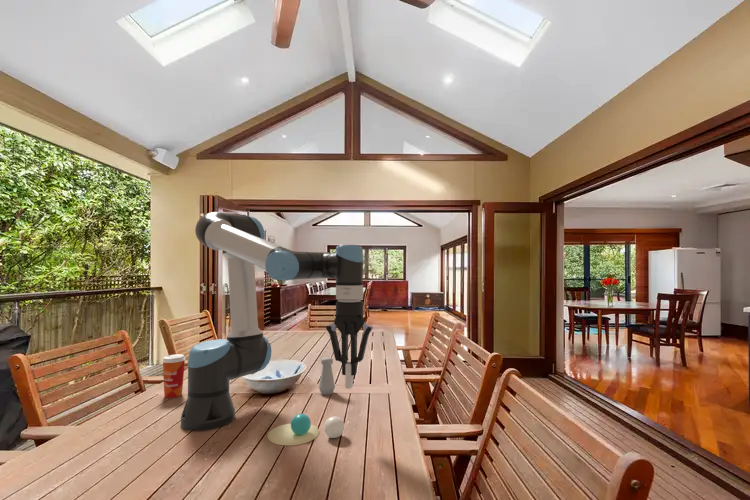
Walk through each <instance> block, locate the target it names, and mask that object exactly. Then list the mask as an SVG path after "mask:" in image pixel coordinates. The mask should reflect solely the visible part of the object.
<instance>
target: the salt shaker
mask: <svg viewBox="0 0 750 500" xmlns="http://www.w3.org/2000/svg"><path fill="white" fill-rule="evenodd" d="M320 363H321V365H322V366H321V375H320V379H319V384H318V385H319V386H318V388H319V392H320V394H321V395H322V396H330V395H332V394H333V393H334V391H335V388H336V385H335V380H334V374H333V367H332V365H333V364H334V361H333V357H330V356H324V357H322V358H321V361H320Z"/></svg>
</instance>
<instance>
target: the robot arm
mask: <svg viewBox="0 0 750 500" xmlns="http://www.w3.org/2000/svg"><path fill="white" fill-rule="evenodd" d="M194 229H195V230H194V232H195V236H196V238H197V240H198V241H199V243H200V244H202V245H203V246H205V247H207V248H209V249H211V250H213V251H220V250H221V251H222V256H224V257H225V258H226V259H227V271H228V273H227V274H228V289H229V308H230V309H229V310H230V332H229V333H228V334H227V335H226V339H225V338H224V339H223V338H218V339H217V338H216V339H213V340H210V339H209V340H206V341H202V342H199V343H197V344H195V345H194V346H192V347H191V348H190V350H189V352H188V360H187V367H188V368H187V399H186V402H185V403H184V404H185V405H184V406H183V410H182V413H181V416H180V427H181V428H182V429H184V430H187V431H193V432H194V431H195V432H199V431H210V430H215V429H218V428H221V427H224V426H226V425H228V424H230V423H232V422H233V421H234V420H235V418H236V409H235V406H234V403H233V400H232V396H231V393H230V381H231V380H235V379H237V378H241V377H245V376H249V375H254V374H256V373H258V372H260V371H262V370H265V369H266V367H267V366H268V364H269V363H270V361H271V358H272V344H271V343H270V342H269V339H268V337H266V336H264V331H263V330H261V329H260V327H259V322H258V321H259V320H258V302H257V285H256V268H255V266H257V267H259V268H261V269H263V270H265V271H266V274H268V277H270V278H271V279H272V280H276V281H283V282H287V281H294V280H295V281H296V280H309V279H310V280H312V279H313V280H314V279H333V280H335V300H337V301H336V302H335V317H334V320H333V322H332V323H330V324H328V325H327V326H326V328H325V329H326V331H327V333H328V334H329V338H330V343H331V346H332V351H333V356H334V360H335V361H336V362H340V363H341V374H342V376H345V378H344V379H345V384H344V385H345V389H346V390H347V389H349V390H350V389H352V388H353V387H354V376H356V375H357V370H358V369H357V368H358V367H357V366H358V363H361V362H362V361H363V360H364V357H365V353H366V349H367V344H368V342H369V341H368V340H369V336H370V333H371V332H372V330H373V326H372V325H369V324H368V323H366V320H365V317H364V301H362V300H364V282H363V279H364V278H363V277H364V261H365V260H364V255H363V252H364V249H363V247H362V246H361V245H360V244H338V245H337V246H336V247H335V251H334V252H333V251H332V252H329V251H328V252H323V251H322V252H318V251H317V252H315V251H295V250H291V249H289V248H286V247H283V246H281V245H279V244H276V243H273V242H271V241H269V240H267V239H265V236H266V235H265V229H264V226H263V225H262V223H261V221H259V220H258V219H257V218H256V217H254V216H249V215H246V214H236V213H229V212H228V213H227V212H221V211H213V212H212V211H211V212H208V213H206V214H204V215H202V216H201V217H200V218H199V219H198V221H197V222H196V225H195V228H194ZM337 329H338V331H339V333H340V335H341V336H340V339H341V347H340V343H339V338H338V335H337V331H336V330H337ZM360 330H362V332H363V335H362V337H361V342H360V347H359V351H358V333H359V332H360ZM349 336H350V337H349ZM349 339H350V361H349Z"/></svg>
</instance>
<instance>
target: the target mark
mask: <svg viewBox="0 0 750 500" xmlns="http://www.w3.org/2000/svg"><path fill="white" fill-rule="evenodd" d="M319 435H320V430H319V428H318V427H317V426H315V425H314V424H311V426H310V429H309V431H308V432H307V433H306V434H304V435H296V434H295V433H293V431H292V429H291V422H290V423H286V424H281V425H279V426H278V425H277V427H276V426H275V427H274V428H273V429H271V430H269V432H268V434H267V440H268V441H269V442H270V443H272V444H273V445H279V446H287V447H289V446H291V447H292V446H299V445H304V444H307V443H309V442H312V441H313V440H315V439H317V437H319Z"/></svg>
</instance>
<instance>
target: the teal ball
mask: <svg viewBox="0 0 750 500" xmlns="http://www.w3.org/2000/svg"><path fill="white" fill-rule="evenodd" d="M290 423H291V429H292V431H293V433H295V434H296V435H304V434H306V433H307V432H308V431H309V429H310V426H311V425H312V422H311V419H310V417H309V416H308V414H307V415H306V414H304V413H299V414H296V415H295V416H293V418H292V419H291V421H290Z"/></svg>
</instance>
